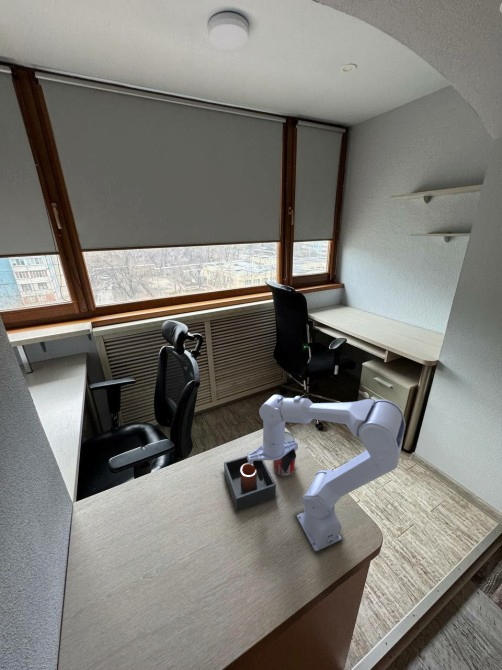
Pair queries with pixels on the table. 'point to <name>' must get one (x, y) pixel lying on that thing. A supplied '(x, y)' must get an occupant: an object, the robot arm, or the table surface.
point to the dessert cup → (248, 477)
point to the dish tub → (241, 496)
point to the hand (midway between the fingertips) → (272, 473)
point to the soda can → (277, 463)
